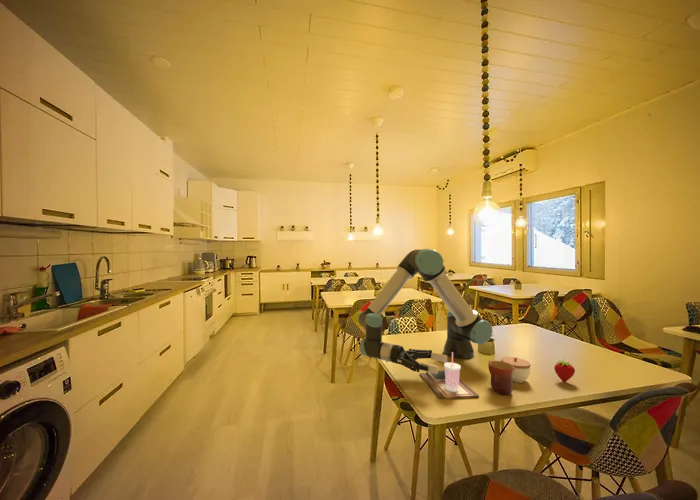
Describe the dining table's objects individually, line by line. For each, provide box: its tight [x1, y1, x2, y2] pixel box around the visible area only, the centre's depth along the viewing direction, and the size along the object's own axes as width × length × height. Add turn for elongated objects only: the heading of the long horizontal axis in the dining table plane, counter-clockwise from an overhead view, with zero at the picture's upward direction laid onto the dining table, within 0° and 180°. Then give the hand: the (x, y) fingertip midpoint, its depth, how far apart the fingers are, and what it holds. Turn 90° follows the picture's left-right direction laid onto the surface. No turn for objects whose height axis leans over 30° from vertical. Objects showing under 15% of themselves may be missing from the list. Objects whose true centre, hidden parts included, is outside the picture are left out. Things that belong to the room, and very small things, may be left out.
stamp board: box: [419, 369, 480, 400], centre depth 111 cm, size 15×21×2 cm
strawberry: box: [553, 358, 576, 383], centre depth 116 cm, size 6×8×10 cm
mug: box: [488, 360, 514, 396], centre depth 108 cm, size 12×9×10 cm
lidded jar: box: [500, 356, 531, 384], centre depth 118 cm, size 11×11×9 cm
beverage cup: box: [443, 352, 462, 392], centre depth 107 cm, size 6×6×14 cm
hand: (442, 364), depth 108 cm, fingers open, 13 cm apart
